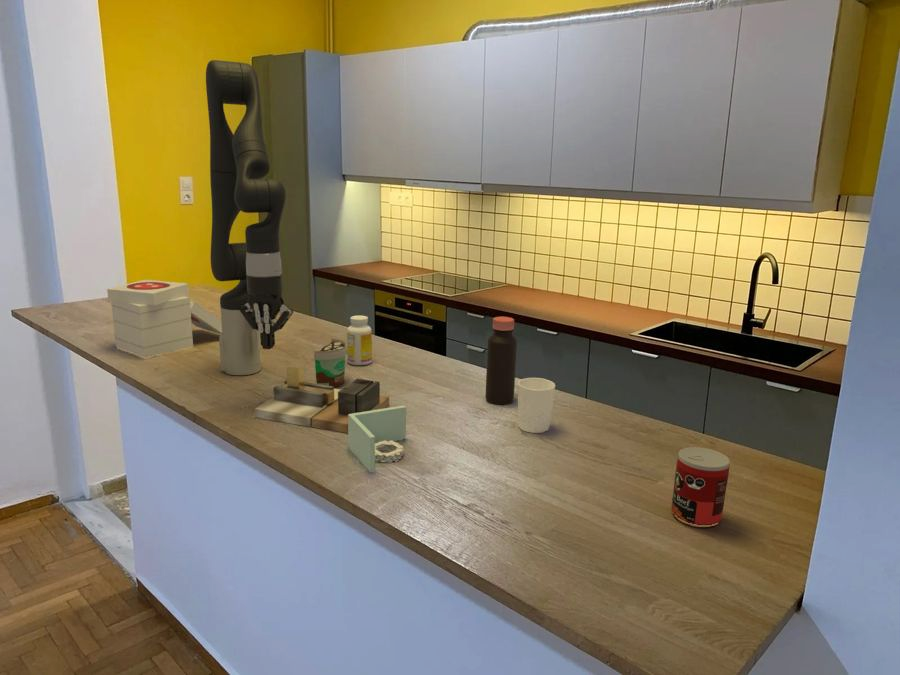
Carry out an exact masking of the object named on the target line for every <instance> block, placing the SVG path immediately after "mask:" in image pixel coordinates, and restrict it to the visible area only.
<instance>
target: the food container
mask: <svg viewBox="0 0 900 675" xmlns="http://www.w3.org/2000/svg"><path fill="white" fill-rule="evenodd" d="M347 354H348V348H347V344H346V342H345V341H343V340H341V339H337V338H331V340H330V343H328V344H327V345H324V346H323V347H322V348H321V349H320V350H318V351H317V350H314V351H313V361H314V366H315V367H314V368H315V380H316V383H315V384H320V385H327V386H334V389H338V388H340V387H342V386H343V385H344V383H345V370H346V356H347Z"/></svg>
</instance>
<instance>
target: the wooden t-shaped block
mask: <svg viewBox="0 0 900 675" xmlns="http://www.w3.org/2000/svg"><path fill="white" fill-rule="evenodd" d="M286 380H287V384H285V383H284V385H281V387H287V388H294V389H300V390H307V391H313V392H320V393H324V403H326V404H330V403H332V402H333V401H334V390H329V389H322V388H315V387H309V386H305V382H306V381H305V365H304V364H302V363H301V364H300V363H293V362H292V363H290V364H288V365H286Z"/></svg>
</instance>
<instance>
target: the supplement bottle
mask: <svg viewBox="0 0 900 675" xmlns="http://www.w3.org/2000/svg"><path fill="white" fill-rule="evenodd" d="M349 319H350V320H349V322H350V323H351V324H350V325H349V326H348V328H347V329H346V340H347V341H346V342H347V344H346V345H347V348H348V354H347V355H346V356H347V363H348V364H350V365H352V366H357V367H358V366H366V365H369V364H371V363H372V361H373V342H372V341H373V338H372V336H373V335H372V334H373V333H372V328H371V327H370V325H368V322H369V317H368V316H367V315H352V316H351V317H350V318H349Z"/></svg>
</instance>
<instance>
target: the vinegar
mask: <svg viewBox="0 0 900 675" xmlns="http://www.w3.org/2000/svg"><path fill="white" fill-rule="evenodd" d="M514 329H515V318H513V317H508V316H496V317H493V318H492V331H493V333H492V334H491V335H490V336H489V337H488V339H487V355H486V375H485V376H486V377H485V394H484V395H485V396H484V397H485V401H486V402H488V403H490V404H493V405H509V404H511V403H513V401H514V399H515V385H516V384H515V383H516V367H517V365H516V364H517V351H518V350H517V349H518V340H517V338H516V337H515V336H514V335H513V332H514Z"/></svg>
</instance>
